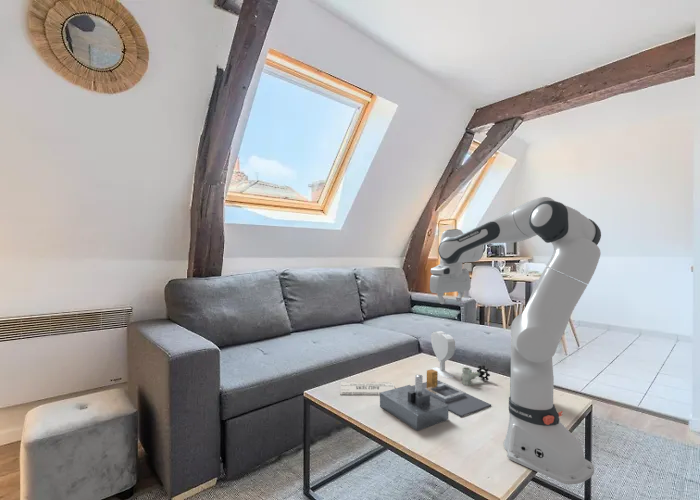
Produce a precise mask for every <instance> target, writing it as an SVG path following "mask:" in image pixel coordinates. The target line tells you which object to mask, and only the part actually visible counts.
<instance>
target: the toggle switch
mask: <svg viewBox="0 0 700 500" xmlns="http://www.w3.org/2000/svg"><path fill="white" fill-rule="evenodd" d="M414 378H415V379H414V380H415V381H414V385H415V387H413V386H414V385H410V384H408V385H403V386H401V387H396V388H395V389H392V390H388V391H384V392H381V393H380V395H379V407H380V408H382V409H384V410H385V411H386V412H388V413H389V414H390V415H392V416H394V417H396V418H397V419H399V420H400V421H401V422H403V423H405V424H406V425H408V426H409V427H410V428H412V429H414V430H415V431H421V430H423V429H426V428H429V427H432V426H434V425H437V424H440V423H444V422H446V421H448V420H449V411H448V406H449V405H447V404H446V403H444V402H442V401H440V400H438V399H436V398H434V397H432V396H430V394H428V393H424V392H422V383H423V375H422V374H416V375H415V377H414Z"/></svg>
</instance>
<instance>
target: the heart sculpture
mask: <svg viewBox="0 0 700 500" xmlns="http://www.w3.org/2000/svg"><path fill="white" fill-rule="evenodd" d="M430 334H431V335H430V340H431V341H430V342H431V347H432V350H433V352H434V355H435V356H436V359H437V360H438V362H439V367H437V366H435V367H431V368H430V370H431V369H433V370H435V371H438V375H439V376H441V377H443V378H447V379H448V378H449V379H451V378H454V375H453V374H451V373H449V372H448V371H447V370H446V362H447V361H448V360H450V359H452V357H454V354H455V351H456V341H455V339H454V337H453V336H452V335H450V334H446V332H444V331H442V330H441V331H433V332H431V333H430Z"/></svg>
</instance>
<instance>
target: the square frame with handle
mask: <svg viewBox="0 0 700 500" xmlns="http://www.w3.org/2000/svg"><path fill="white" fill-rule="evenodd" d="M438 375H439V374H438V371H435V370H433V369H431V368H430V369H427V370H426V382H427V388H425V390H424V392H425V393H428V394H430V395H431V396H433V397H435V398H437V399H438V400H440V401H442V402H444V403H447V402H450V401H453V400H456V399H459V398H462V397H465V396H466V392H465V391H464V390H461V389H459V388H456V387H454V386H452V385H450V384H447V383H446V382H443V383H442V384H439V385H437V380H438ZM441 389H446V390H449V391H451V392H453V393H455V394H452V395H449V396H443V395H441V394H439V393H437V392H435V391H438V390H441Z"/></svg>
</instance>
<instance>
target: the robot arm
mask: <svg viewBox="0 0 700 500" xmlns="http://www.w3.org/2000/svg"><path fill="white" fill-rule="evenodd" d="M536 236H537V237H539V238H540V239H541V240H542V241H544V242H545V243H546V244H548V243H550V244H551V245H552V247H553V253H552V256H551V257H550V258H549V261H548V263H547V264H546V267H544V270H543V271H542V273H541V275H540V277H539V278H538V280H537V282H536V284H535V286H534V287H533V289H532V291H531V294H530V297H529V299H528V301H527V303H526V305H525V308H524V310H523V311H522V312H521V313H519V314H518V315H516V316H515V318H514V319H513V320H512V322H511V324H510V325H511V326H510V376H511V396H509V397H508V412H509V419H508V426H507V430H506V434H505V439H504V441H503V447H504V449H505V450H506V452H507V458H508V459H509V460H510V461H512V462H515V463H516V464H519V465H522V466H523V467H526V468H528V469H530V470H532V471H535V472H537V473H539V474H541V475H543V476H546V477H549V478H550V479H553V480H555V481H557V482H560V483H562V484H564V485H577V484H581V483H584V482H586V481H588V480H589V479H591V477H593V476H594V473H595V466H594V464H593V463H592V462H591V461H589V460H588V459H586V458H585V455H584V450H583V449H584V447H583V446H582V444H581V442H580V440H578V439H577V437H576V436H574V435H573V433H572V432H571V431H570V430H569V429H568V428H567V427H566V426H565V425H564V424H563V423H562V422H561V421H560V420H561V419H560V417H562V416H563V412H564V411H563V410H561V411H557V408H556V406H555V404H554V383H555V382H554V377H555V376H554V367H553V363H554V362H553V357H554V355H555V354H556V352H557V349H558V346H559V344H560V342H561V340H562V338H563V335H564V334H565V332H566V329H567V326H568V324H569V322H570V320H571V319H570V318H571V316H572V314H573V311H574V310H575V307H576V306H577V304H578V303H579V301H580V299H581V297H582V296H583V294H584V292H585V291H586V289H587V287H588V285H589V283H590V282H591V280H592V278H593V276H594V274H595V272H596V269H597V267H598V264H599V261H600V258H601V249H600V248H599V246H598V244H599V243H600V242H601V237H602V232H601V228H600V226H599V225H597V223H596V222H595V221H594V220H592V219H590V218H588V217H587V216H585V215H584V214H582V213H581V212H580V211H578V210H577V209H575V208H573V207H570V206H568V205H566V204H564V203H562V202H559V201H556V200H555V199H553V198H551V197H549V196H548V197H547V196H542V197H538V198H536V199H532V200H530V201H527V202H525V203H522V204H520V205H518V206H517V207H515V208H512V209H511V210H509V211H508V212H506V213H504V214H502V215H500V216H499V217H496V218H494V219H492V220H490V221H488V222H486V223H484V224H482V225H479V226H477V227H475V228H473V229H470V230H468V231H466V232H463V231H462V230H461V229H458V228H452V229H447V230H444V231H443V232H442V233H441V236H440V243H439V244H438V245H439V246H438V248H437V250H438V251H437V252H438V255H439V257H440V259H439V260H440V261H439V264H438V265H436V266H434V267H431V268H430V274H431V275H430V277H429V278H430V279H429V291H430V292H431V294H436V296H437V297H438V299H439V304H441V305H444V304H446V299H444V295H445V294H446V293H457V294H458V295H457V296H456V297H455V302H456V303H461V302H462V301H463V300H462V298H463V296H464V294H465V293H464V292H466V291H470V290H471V286H472V285H471V279H470V278H471V277H470V271H469V270H468V269H467V268H465V267H463V263H475V262H477V261H480V260H481V258H482V256H483V254H484V252H485V251H484V246H485V245H488V244H509V243H510V244H512V243H513V244H514V243H518V242H523V241H527V240H529V239H531V238H533V237H536Z"/></svg>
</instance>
